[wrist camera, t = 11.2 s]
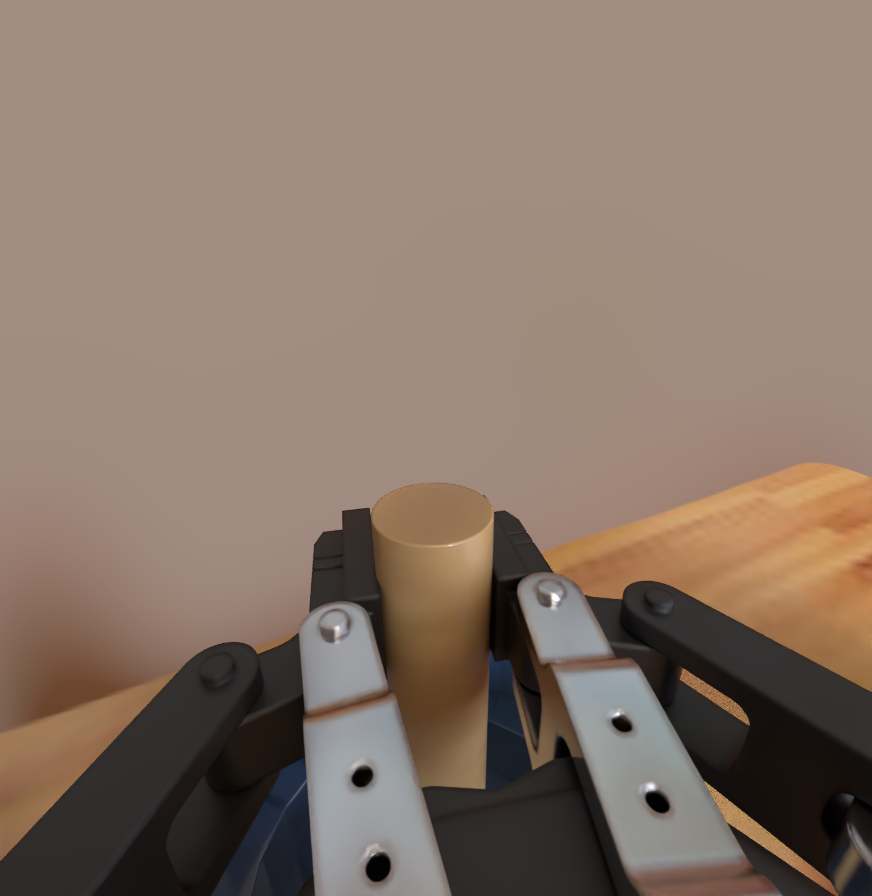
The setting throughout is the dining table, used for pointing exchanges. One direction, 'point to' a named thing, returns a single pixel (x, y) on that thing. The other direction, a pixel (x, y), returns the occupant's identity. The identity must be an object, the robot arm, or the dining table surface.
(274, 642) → the dining table surface
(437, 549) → the stirring stick
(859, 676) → the dining table surface
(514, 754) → the bowl
